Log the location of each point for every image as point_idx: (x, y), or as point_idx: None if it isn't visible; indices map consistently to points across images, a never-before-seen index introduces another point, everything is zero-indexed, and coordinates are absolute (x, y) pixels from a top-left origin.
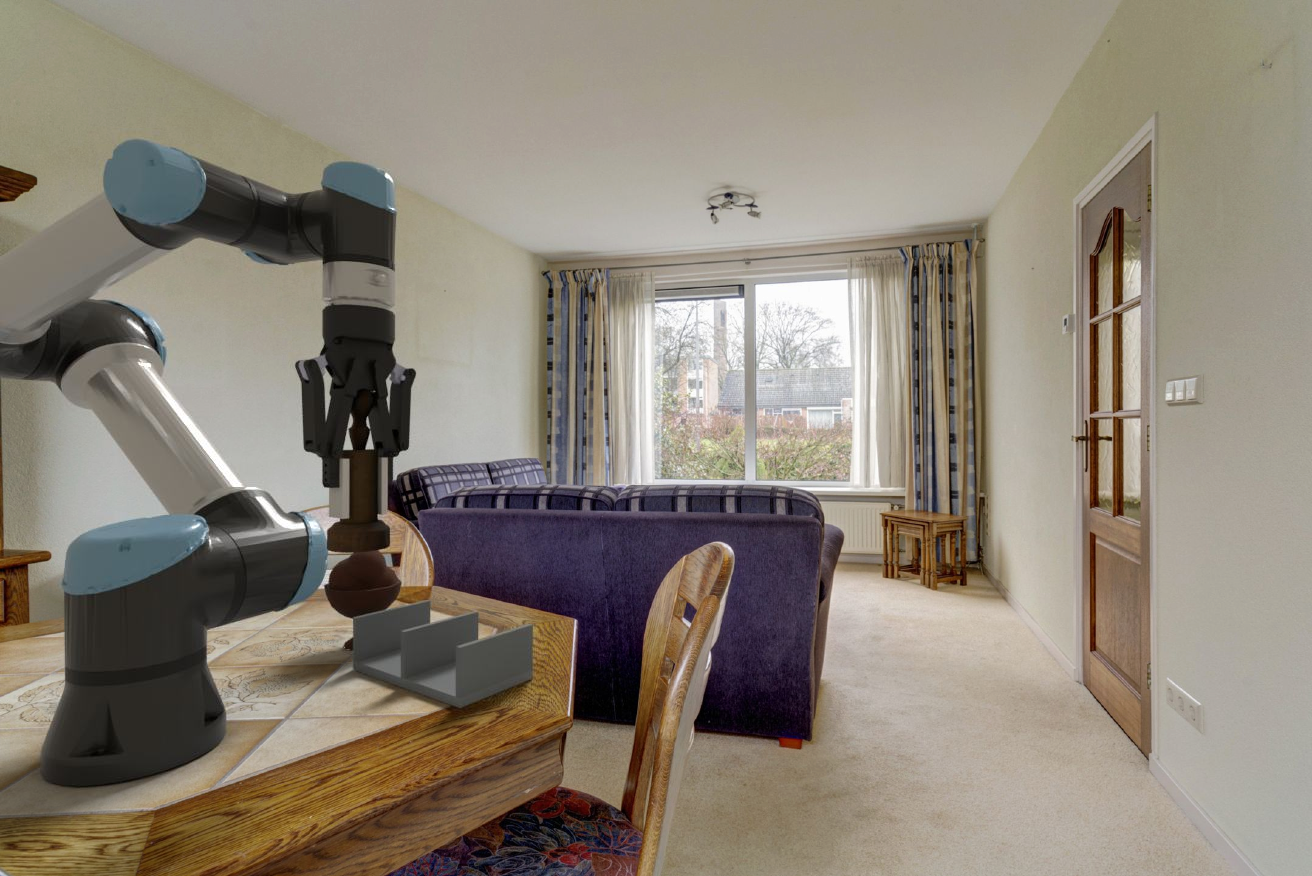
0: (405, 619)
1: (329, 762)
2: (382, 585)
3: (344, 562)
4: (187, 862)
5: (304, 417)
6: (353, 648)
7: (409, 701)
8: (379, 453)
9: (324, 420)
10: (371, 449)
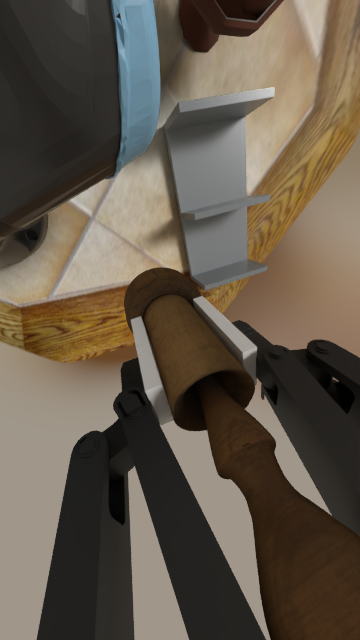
0: (233, 108)
1: (109, 303)
2: (253, 6)
3: None
4: (45, 356)
5: (52, 607)
6: (168, 118)
7: (172, 246)
8: (261, 370)
9: (127, 573)
10: (251, 381)
